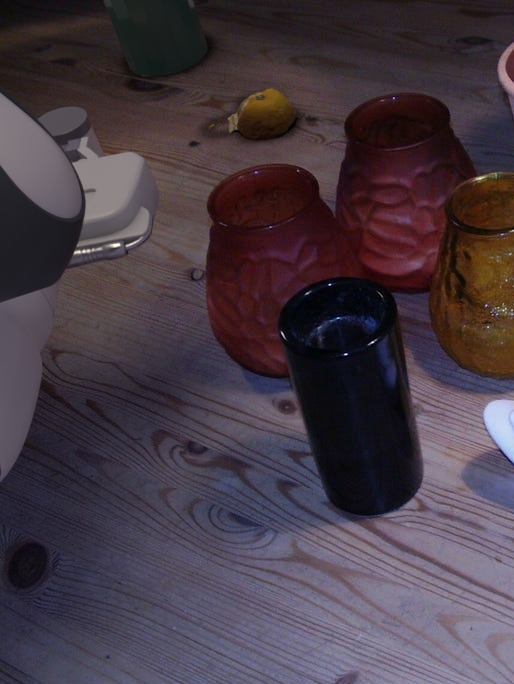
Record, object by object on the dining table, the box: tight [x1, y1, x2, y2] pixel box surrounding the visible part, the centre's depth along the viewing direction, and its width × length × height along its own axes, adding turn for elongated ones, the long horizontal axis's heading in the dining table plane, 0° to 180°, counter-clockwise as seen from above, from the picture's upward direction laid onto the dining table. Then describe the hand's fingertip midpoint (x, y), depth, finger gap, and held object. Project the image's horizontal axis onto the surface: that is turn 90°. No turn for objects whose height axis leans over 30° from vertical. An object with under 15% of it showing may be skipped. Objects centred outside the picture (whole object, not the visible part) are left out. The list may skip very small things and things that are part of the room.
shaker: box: [37, 106, 106, 162], centre depth 87 cm, size 4×4×11 cm
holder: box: [102, 0, 209, 78], centre depth 108 cm, size 9×9×10 cm
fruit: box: [207, 87, 297, 141], centre depth 99 cm, size 8×8×4 cm
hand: (17, 158), depth 71 cm, fingers open, 8 cm apart
